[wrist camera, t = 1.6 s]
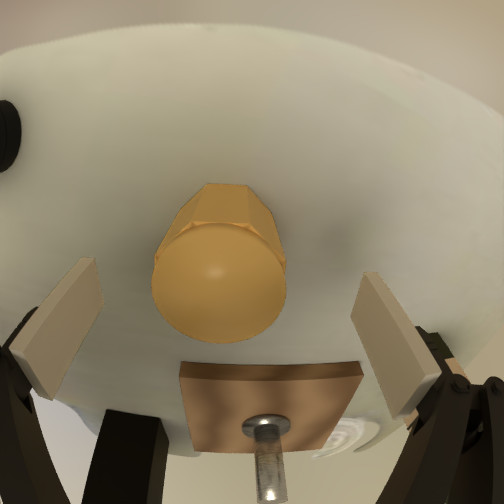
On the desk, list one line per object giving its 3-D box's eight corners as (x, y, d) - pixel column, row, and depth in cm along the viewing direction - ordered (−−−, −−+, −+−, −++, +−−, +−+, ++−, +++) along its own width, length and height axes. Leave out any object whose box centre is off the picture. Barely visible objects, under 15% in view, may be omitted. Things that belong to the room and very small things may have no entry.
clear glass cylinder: (240, 435, 30) (242, 507, 21) (242, 413, 28) (245, 496, 19) (286, 434, 30) (294, 504, 22) (294, 412, 28) (306, 492, 19)
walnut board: (195, 439, 34) (194, 451, 32) (181, 361, 26) (178, 377, 24) (318, 437, 35) (321, 448, 34) (358, 361, 27) (364, 375, 26)
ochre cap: (182, 264, 21) (159, 339, 14) (180, 182, 19) (144, 228, 11) (265, 268, 22) (277, 344, 15) (273, 186, 19) (295, 234, 12)
